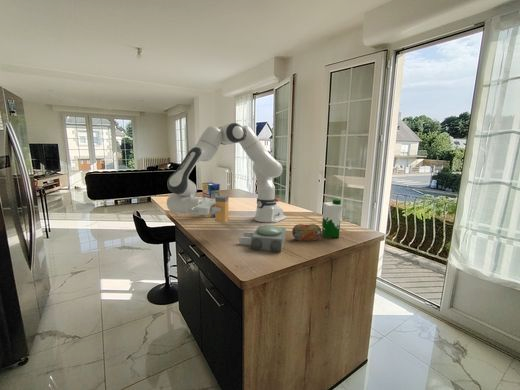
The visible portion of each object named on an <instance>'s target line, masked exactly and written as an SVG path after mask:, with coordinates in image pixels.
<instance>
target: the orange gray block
mask: <svg viewBox="0 0 520 390" xmlns="http://www.w3.org/2000/svg"><path fill="white" fill-rule="evenodd" d="M215 202H216V207H222V211H216V217H215V221H216V222H220V223H222V222H224V223H226V222H227V221H228V220H229V196H228V195H220V196H217V197H215Z"/></svg>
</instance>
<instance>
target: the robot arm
mask: <svg viewBox="0 0 520 390" xmlns="http://www.w3.org/2000/svg"><path fill="white" fill-rule="evenodd" d="M237 143H238V144H239V145H240V146H241V148H242V149H243V151H244V152H245V154H246V155H247V157H248V158H249V159H250V161H252V162H253V164H252V170H253V173H254V175H255V177H256V178H255V179H256V184H257V198H256V210H255V215H254V220H255V221H257V222H260V223H275V224H276V223H278V222H281V221H284V220H286V219H287V218H288V217H287V216H286V215H284V210H283V207H281V206H279V205H278V204H277V202H280V198H275V197H276V194H275V193H276V186H275V184H274V182H273V179H275V178H279V177H280V176H281V175H282V173H283V169H284V168H283V166H282V163H280V162H279V161H277V160H276V159H275V158H274V157H273V156H272V155H271V153H269V151H268V150H267V149H266V147H264V145H263V143H262V142H261V140H260V139H259V137H258V136H257V134H256V133H255V132H254V130H253V129H252V128H251V127H250V126H248V125H241V124H240V123H237V122H232V123H227V124H224V125H223V126H220V127H217V126H214V125H209V126H208V127H206V129H205V130H204V131H203V133H202V134H201V135H200V136H199V139H198V141H197V143H196V144H195V146H194V147H192V148H191V149H190V150H189V151H188V153H186V155H185V157H184V159H183V160H182V161H181V163H180V164H179V166H178V167H177V169H176V170H175V171H174V172H173V173H171V175H169V177H168V179H167V183H166V185H167V186H166V187H167V189H168V191H169V192H171V193H172V194H171V195H170V196H168V197H167V199H166V206H167V209H168V210H169V211H170V212H172V213H176V214H189V215H199V216H204V215H208V214H210V213H211V212H215V211H222V207H216V202H215V199H212V198H207V197H203V196H200V197H199V196H196V195H197V191H198V190H197V189H198V187H197V184H195V182H194V181H192V180H191V179H189V177H190V174H191V173H192V171H193V169H194V168H195V167H196V165H197V164H198V163H199V162H209V161H211V160H213V158H214V157H215V156H216V153H217V151H218V149H219V148H220V145H224V146H225V145H234V144H237Z"/></svg>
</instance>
